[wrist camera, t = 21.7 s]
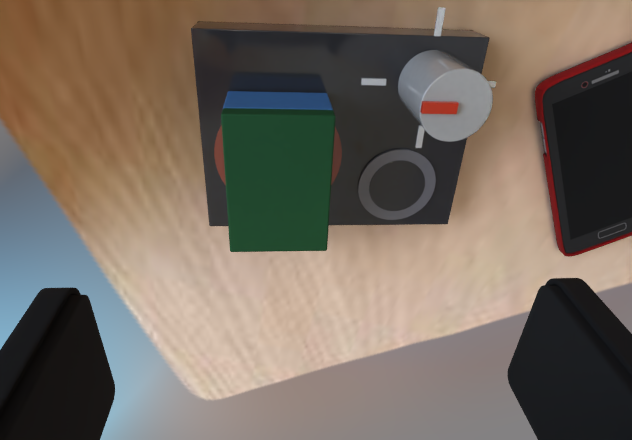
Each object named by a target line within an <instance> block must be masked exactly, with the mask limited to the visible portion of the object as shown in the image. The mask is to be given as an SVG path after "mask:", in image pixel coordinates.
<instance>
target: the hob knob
mask: <svg viewBox="0 0 632 440" xmlns="http://www.w3.org/2000/svg"><path fill="white" fill-rule="evenodd" d="M398 92H399V96H400V99H401V101H402V103H403V104H404V105H405V107H406V108H407V109H408V110H409V111H410V113H411V114H412V115H413V116H414V117H415V119H416V120H417V121H418V122H419V123H420V125H421V126H422V127H423V128H424V129H425V131H426V132H427V133H428V134H429V135H430V136H432V137H433V138H435V139H438V140H441V141H447V142H452V141H459V140H462V139H465V138H467V137H469V136H471V135H472V134H474V133H475V132H476V131H477V130H478V129H480V127H481V126H482V125H483V124H484V123H485V121H486V120H487V118H488V116H489V114H490V111H491V108H492V103H493V94H492V89H491V86H490V84H489V82H488V80H487V79H486V78H485V77H484V76H483V75H482V74H480V73H479V72H477V71H476V70H474V69H472V68H471V67H469V66H467V65H466V64H464V63H463V62H461V61H459V60H458V59H456V58H454V57H453V56H451V55H450V54H448V53H446V52H444V51H440V50H428V51H424V52H422V53H419V54H417V55H416V56H414V57H413V58H412V59H411V60H410V61H409V62H408V63H407V64H406V65H405V67H404V68H403V70H402V72H401V74H400V77H399V81H398Z"/></svg>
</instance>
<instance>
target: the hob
mask: <svg viewBox="0 0 632 440" xmlns="http://www.w3.org/2000/svg"><path fill="white" fill-rule="evenodd" d="M444 14H445V8H444V7H438V11H437V17H436V24H435V29H418V28H387V27H357V26H326V25H295V24H264V23H234V22H203V21H198V22H197V23H196V24H195V25H194V26H193V27H192V28H191V33H192V44H193V54H194V65H195V76H196V86H197V97H198V108H199V119H200V129H201V140H202V151H203V161H204V172H205V183H206V193H207V204H208V215H209V225H210V226H228V212H227V197H226V185H225V184H224V182H223V181H222V179H221V177H220V175H219V173H218V170H217V167H216V163H215V157H214V147H215V140H216V137H217V133H218V131H219V128H220V126H221V113H222V110H223V106H224V103H225V100H226V96H227V93H228V91H245V92H299V93H327V95H328V97H329V100H330V103H331V105H332V108H333V111H334V114H335V116H336V119H335V127H336V129H337V131H338V134H339V137H340V141H341V147H342V158H341V165H340V168H339V172H338V174H337V176H336V178H335V180H334V182H333V183H332V185H331V195H330V210H329V225H399V224H448V220H449V216H450V211H451V207H452V202H453V198H454V194H455V189H456V185H457V180H458V176H459V171H460V167H461V162H462V158H463V153H464V149H465V145H466V140H467V138H465V139H462V140H459V141H452V142H447V141H441V140H438V139H435V138H433V137H432V136H430V135H429V134H428V133H427V132H426V131H425V129H424V128H423V127H422V126H421V125H420V123H419V122H418V121H417V120H416V119H415V117H414V116H413V115H412V114H411V113H410V111H409V110H408V109H407V108H406V107H405V105H404V104H403V103H402V101H401V99H400V96H399V92H398V81H399V77H400V74H401V72H402V70H403V68H404V67H405V65H406V64H407V63H408V62H409V61H410V60H411V59H412V58H413V57H414V56H416V55H417V54H419V53H422V52H424V51H428V50H440V51H444V52H446V53H448V54H450V55H451V56H453V57H454V58H456V59H458V60H459V61H461V62H463V63H464V64H466V65H467V66H469V67H471V68H472V69H474V70H476V71H477V72H479V73H480V74H481V73H482V69H483V64H484V60H485V55H486V51H487V47H488V42H489V37H487V36H484V35H482V34H480V33H477V32H475V31H473V30H449V29H442V26H443V20H444ZM488 82H489V84H490V86H491V88H495V85H496V81H488ZM393 149H410V150H413V151H416V152H418V153H420V154H422V155H423V156H425V157H426V158H427V159H428V161H429V162H430V163H431V165H432V167H433V169H434V172H435V176H436V183H435V189H434V192H433V194H432V196H431V198H430V200H429V201H428V202H427V204H426V205H425V206H424V207H423V208H422V209H421V210H419V211H418V212H416V213H415V214H413V215H411V216H409V217H406V218H403V219H398V220H386V219H381V218H378V217H376V216H374V215H372V214H371V213H369V212H368V211H367V210H366V209H365V208H364V206H363V205H362V203H361V201H360V199H359V195H358V182H359V178H360V175H361V173H362V171H363V170H364V168H365V167H366V165H367V164H368V163H369V162H370V161H371V160H372V159H374V158H375V157H376V156H378V155H380V154H381V153H384V152H386V151H389V150H393Z"/></svg>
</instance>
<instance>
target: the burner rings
mask: <svg viewBox="0 0 632 440" xmlns="http://www.w3.org/2000/svg"><path fill="white" fill-rule="evenodd" d="M214 157H215V163H216V167H217V170H218V173H219V175H220V177H221V179H222V181H223V182H224V184H225V185H226V182H225V168H224V153H223V138H222V124H221V126H220V128H219V131H218V133H217V137H216V140H215V147H214ZM341 158H342V147H341V141H340V137H339V134H338V131H337V129H336V127H335V134H334V149H333V165H332V180H331V185H332V183H333V182H334V180H335V178H336V176H337V174H338V172H339V168H340V165H341ZM435 183H436V176H435V172H434V169H433V167H432V165H431V163H430V162H429V161H428V159H427V158H426V157H425V156H423V155H422V154H420V153H418V152H416V151H413V150H410V149H393V150H389V151H386V152H384V153H381V154H380V155H378V156H376V157H375V158H374V159H372V160H371V161H370V162H369V163H368V164H367V165H366V167H365V168H364V170H363V171H362V173H361V175H360V178H359V182H358V195H359V199H360V201H361V203H362V205H363V206H364V208H365V209H366V210H367V211H368V212H369V213H371V214H372V215H374V216H376V217H378V218H381V219H386V220H398V219H403V218H406V217H409V216H411V215H413V214H415V213H416V212H418V211H419V210H421V209H422V208H423V207H424V206H425V205H426V204H427V202H428V201H429V200H430V198H431V196H432V194H433V192H434V189H435Z"/></svg>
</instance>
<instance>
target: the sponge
mask: <svg viewBox="0 0 632 440" xmlns="http://www.w3.org/2000/svg"><path fill="white" fill-rule="evenodd" d="M335 119H336V116H335V114H334V111H333V108H332V105H331V103H330V100H329V97H328V95H327V93H299V92H245V91H228V93H227V96H226V100H225V103H224V106H223V110H222V113H221V124H222V138H223V153H224V168H225V182H226V197H227V212H228V226H229V241H230V251H231V252H258V251H326V250H327V241H328V226H329V210H330V195H331V180H332V165H333V149H334V134H335Z"/></svg>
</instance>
